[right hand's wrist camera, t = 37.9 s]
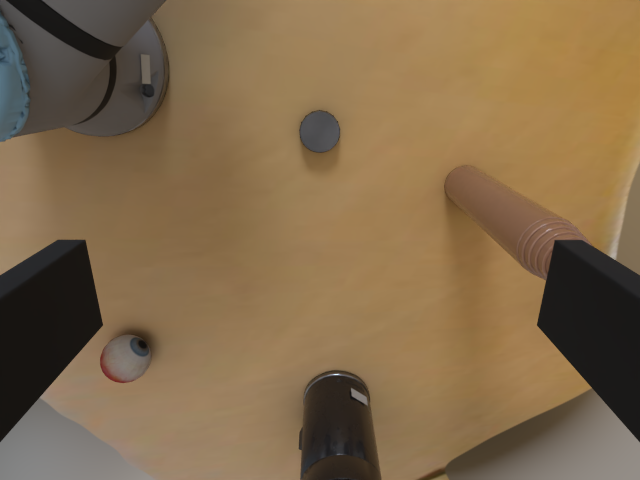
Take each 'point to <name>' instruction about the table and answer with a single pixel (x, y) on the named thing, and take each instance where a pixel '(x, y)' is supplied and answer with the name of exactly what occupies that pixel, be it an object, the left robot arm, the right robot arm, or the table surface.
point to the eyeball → (125, 358)
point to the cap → (319, 131)
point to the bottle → (510, 218)
